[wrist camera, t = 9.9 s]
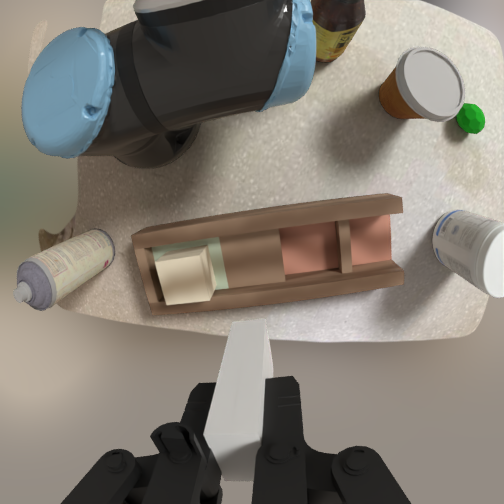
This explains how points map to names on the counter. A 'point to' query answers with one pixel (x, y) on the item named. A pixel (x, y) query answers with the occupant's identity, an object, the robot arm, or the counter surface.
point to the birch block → (186, 275)
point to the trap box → (280, 252)
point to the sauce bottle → (335, 25)
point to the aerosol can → (63, 268)
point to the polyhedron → (471, 118)
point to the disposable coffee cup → (423, 86)
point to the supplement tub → (472, 249)
